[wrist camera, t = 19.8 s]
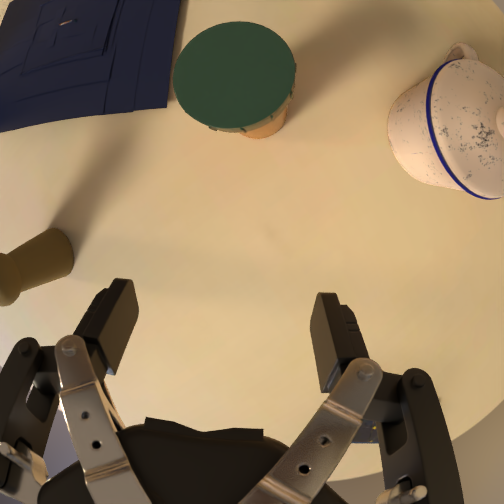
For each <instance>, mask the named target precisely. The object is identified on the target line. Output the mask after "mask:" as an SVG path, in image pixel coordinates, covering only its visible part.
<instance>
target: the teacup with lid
mask: <svg viewBox="0 0 504 504" xmlns="http://www.w3.org/2000/svg"><path fill="white" fill-rule="evenodd" d="M463 57H464V58H465V59H462V58H463ZM388 137H389V142H390V145H391V148H392V151H393V153H394V155H395V157H396V159H397V161H398V162H399V164H400V165H401V166H402V167H403V169H404V170H405V171H406V172H407V173H408V174H410V175H411V176H412V177H413V178H415V179H417V180H419V181H421V182H423V183H426V184H429V185H435V186H441V187H446V188H452V189H457V190H462V191H466V192H468V193H469V194H471V195H473V196H475V197H478V198H481V199H487V200H492V199H498V198H501V197H504V78H503V77H502V76H501V75H500V74H499V73H497V72H496V71H495V70H493V69H492V68H490V67H489V66H487V65H485V64H483V63H481V62H479V59H478V55H477V53H476V51H475V50H474V49H473V48H472V47H471V46H469V45H467V44H465V43H463V42H459V43H456V44H455V45H453V46H452V47H451V48H450V50H449V51H448V53H447V54H446V56H445V58H444V61H443V64H442V65H441V66H440V67H439V68H438V69H437V70H436V71H435V73H434V74H433V75H432V76H430V77H429V78H427V79H425V80H424V81H422V82H421V83H419V84H417V85H416V86H414V87H413V88H411V89H409V90H408V91H406V92H405V93H403V94H402V95H401V96H400V97H398V99H397V100H396V101H395V103H394V104H393V106H392V108H391V110H390V113H389V117H388Z"/></svg>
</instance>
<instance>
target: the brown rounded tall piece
mask: <svg viewBox="0 0 504 504" xmlns="http://www.w3.org/2000/svg"><path fill="white" fill-rule="evenodd" d="M73 263H74V257H73V250H72V247H71V244H70V242H69V240H68V238H67V237H66V236H65V234H64V233H63V232H62V231H60V230H59V229H57V228H50V229H48V230H46V231H44V232H43V233H41V234H39V235H37V236H36V237H34V238H32V239H31V240H29V241H27V242H26V243H24V244H22V245H21V246H19V247H18V248H16V249H14V250H13V251H11V252H10V253H8V254H7V255H6V254H3V253H0V306H2V307H3V306H8V305H11V304H12V303H14V302H15V300H16V299H17V298H18V297H19V295H20V292H23V291H26V290H28V289H31V288H34V287H37V286H39V285H42V284H45V283H48V282H51V281H53V280H56V279H59V278H62V277H65V276H67V275H68V274H69V273H71V270H72V268H73Z"/></svg>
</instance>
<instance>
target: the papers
mask: <svg viewBox="0 0 504 504" xmlns="http://www.w3.org/2000/svg"><path fill="white" fill-rule="evenodd" d="M179 6H180V0H13V1H12V2H10V3H9V5H8V8H7V10H6V13H5V15H4V18H3V20H2V23H1V26H0V133H1V132H6V131H10V130H15V129H20V128H24V127H28V126H33V125H38V124H43V123H48V122H53V121H59V120H65V119H72V118H79V117H86V116H94V115H106V114H116V113H127V112H133V111H136V110H145V109H157V108H167V100H168V88H169V78H170V68H171V60H172V52H173V44H174V37H175V30H176V24H177V17H178V12H179Z"/></svg>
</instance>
